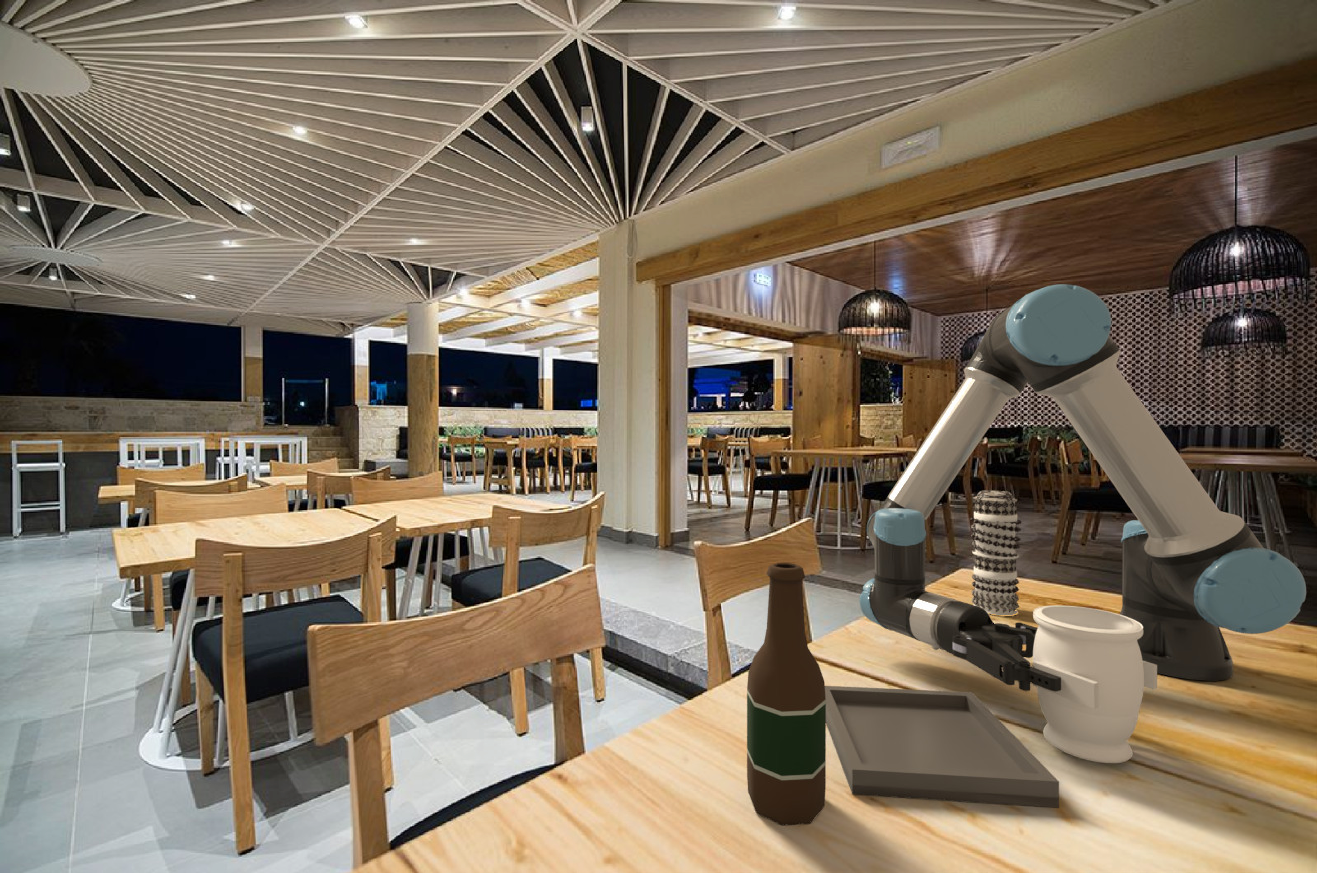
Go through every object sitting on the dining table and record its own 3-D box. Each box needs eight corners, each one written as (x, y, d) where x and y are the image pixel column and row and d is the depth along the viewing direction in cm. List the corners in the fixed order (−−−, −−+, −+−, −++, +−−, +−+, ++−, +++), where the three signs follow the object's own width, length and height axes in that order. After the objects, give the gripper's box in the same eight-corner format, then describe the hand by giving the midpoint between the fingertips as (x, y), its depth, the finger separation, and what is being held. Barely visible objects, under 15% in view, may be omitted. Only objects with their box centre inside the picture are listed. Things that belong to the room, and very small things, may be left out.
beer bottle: (779, 839, 53) (780, 578, 53) (731, 792, 60) (731, 561, 60) (842, 813, 57) (843, 569, 57) (790, 772, 64) (790, 554, 64)
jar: (1107, 780, 61) (1107, 638, 61) (1013, 734, 70) (1012, 610, 70) (1165, 757, 65) (1164, 624, 65) (1068, 716, 75) (1068, 600, 75)
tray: (971, 711, 78) (971, 692, 78) (1058, 807, 58) (1058, 781, 58) (819, 704, 80) (819, 685, 80) (852, 794, 60) (852, 769, 60)
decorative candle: (1020, 620, 116) (1021, 494, 115) (967, 612, 121) (968, 492, 121) (1021, 608, 123) (1022, 491, 123) (972, 601, 128) (972, 488, 128)
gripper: (1005, 640, 89) (1183, 700, 69) (893, 665, 80) (1061, 743, 59) (1005, 591, 89) (1183, 636, 69) (892, 610, 80) (1061, 670, 59)
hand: (1126, 686), depth 64 cm, fingers closed on jar, 10 cm apart
